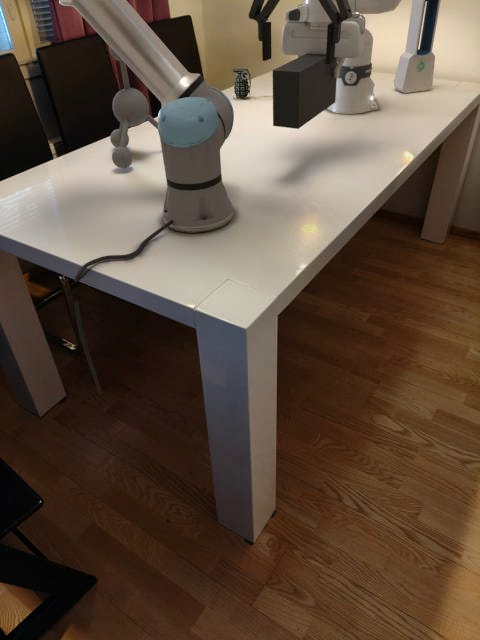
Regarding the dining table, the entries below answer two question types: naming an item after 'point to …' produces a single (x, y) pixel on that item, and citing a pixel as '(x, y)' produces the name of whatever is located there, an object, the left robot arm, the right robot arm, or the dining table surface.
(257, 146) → the dining table surface
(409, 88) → the electronic device
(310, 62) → the box
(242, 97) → the grenade
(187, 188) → the left robot arm
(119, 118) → the molecular model
